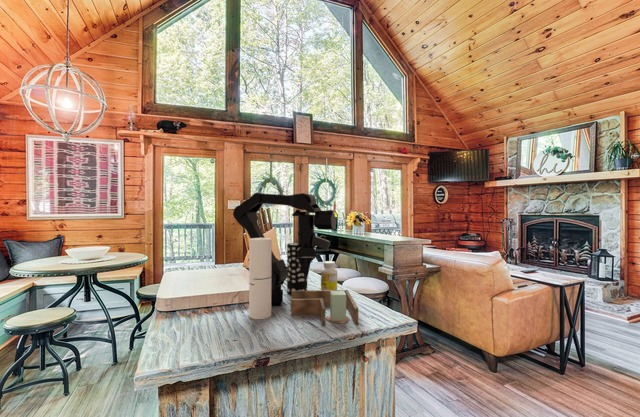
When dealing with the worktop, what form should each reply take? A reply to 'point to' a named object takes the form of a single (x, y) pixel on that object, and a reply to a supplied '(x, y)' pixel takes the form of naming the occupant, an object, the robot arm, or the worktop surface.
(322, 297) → the channel
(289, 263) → the white-spotted black cylinder
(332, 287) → the supplement bottle
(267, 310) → the cylindrical container
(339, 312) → the block
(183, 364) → the worktop surface
